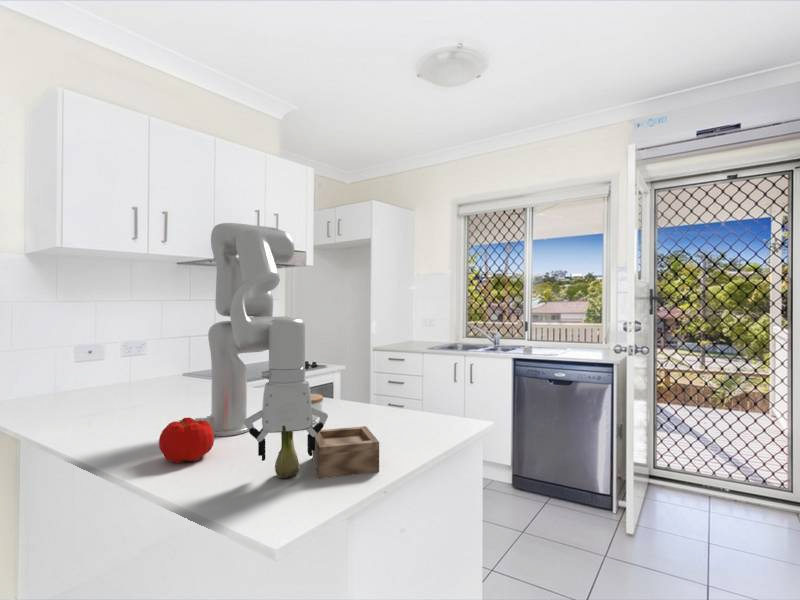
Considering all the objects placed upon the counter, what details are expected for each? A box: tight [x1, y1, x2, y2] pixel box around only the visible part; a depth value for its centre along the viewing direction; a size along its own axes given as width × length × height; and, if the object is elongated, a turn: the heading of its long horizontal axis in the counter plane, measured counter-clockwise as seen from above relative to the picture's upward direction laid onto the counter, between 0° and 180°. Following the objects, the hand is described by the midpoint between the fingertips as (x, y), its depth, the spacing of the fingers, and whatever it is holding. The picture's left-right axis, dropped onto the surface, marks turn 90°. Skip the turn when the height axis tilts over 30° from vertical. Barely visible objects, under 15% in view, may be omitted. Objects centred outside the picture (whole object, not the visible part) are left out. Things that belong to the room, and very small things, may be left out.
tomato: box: [158, 416, 215, 464], centre depth 106 cm, size 11×12×9 cm
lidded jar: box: [311, 393, 324, 424], centre depth 139 cm, size 11×11×9 cm
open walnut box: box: [312, 425, 380, 479], centre depth 102 cm, size 13×13×6 cm
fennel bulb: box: [274, 426, 300, 479], centre depth 95 cm, size 6×5×12 cm
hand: (287, 456), depth 95 cm, fingers open, 9 cm apart
